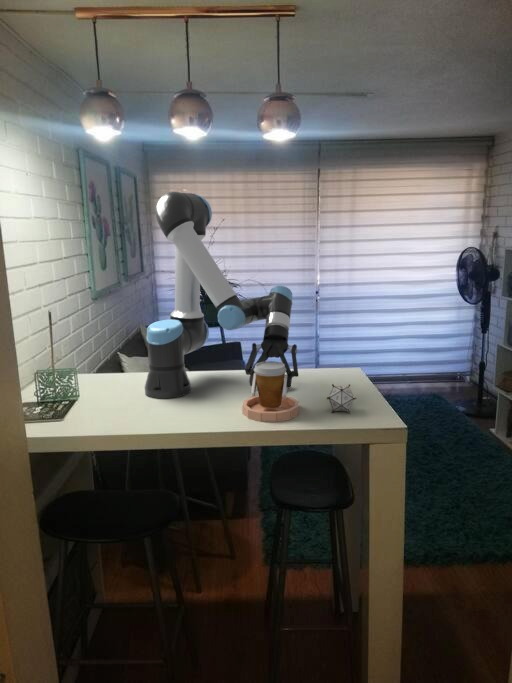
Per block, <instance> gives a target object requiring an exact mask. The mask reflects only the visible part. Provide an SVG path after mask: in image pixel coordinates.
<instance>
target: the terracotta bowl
mask: <svg viewBox="0 0 512 683" xmlns="http://www.w3.org/2000/svg"><path fill="white" fill-rule="evenodd" d="M299 403H300V402H299V401H298V400H297V399H295V398H293V397H291V396H289V395H286V399H283V394H282V401H281V405H280V406H278V407H274V408H266V407H262V406H261V405H260V402H259V395H255V397H252V396H250V397H249V398H246V399H244V400H243V402H242V404H241V408H242V409H241V411H242V414H243V416H245V417H246V418H247V419H249V420H254V421H258V422H265V423H267V422H272V423H273V422H275V423H277V422H283V421H288V420H292V419H294V418H295V417H297V416H299V409H300V404H299Z"/></svg>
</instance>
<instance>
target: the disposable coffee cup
mask: <svg viewBox="0 0 512 683" xmlns="http://www.w3.org/2000/svg"><path fill="white" fill-rule="evenodd" d="M255 364H256V363H255ZM255 364H254V365H255ZM254 372H255V374H256V381H257V386H256V389H257V388H258V391H257V392H258V393H257V394H258V395H257V396H259V402H260V405H261V406H262V407H266V408H274V407H278V406H280V405H281V401H282V395H283V384H284V376H285V374H286V368H285V364H283V363H282V361H281V362H280V361H275V360H274V361H272V360H271V361H269V360H268V361H267V360H266V361H265V362H260V363H257V364H256V365H255V368H254Z"/></svg>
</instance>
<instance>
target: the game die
mask: <svg viewBox="0 0 512 683" xmlns="http://www.w3.org/2000/svg"><path fill="white" fill-rule="evenodd" d="M331 386H332V389H331V391H330V393H329V396H326V398H325V399H326V400H328V402H329V403H330V405H331V409H332V411H331V413H334V412H335V411H343V412H348V413H349V414H351V411H350V409H351V407H352V404H353V402H354V401H355V400H357V398H356V397H354V395H353V393H352V391H351V384H348V385H346V386H344V385H343V386H341V385H339V386H338V385H334V383H331Z"/></svg>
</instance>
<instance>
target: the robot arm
mask: <svg viewBox="0 0 512 683" xmlns="http://www.w3.org/2000/svg"><path fill="white" fill-rule="evenodd" d="M212 215H213V213H212V208H211V205H210V203H209V202H208V201H207V199H206V198H205V197H203V196H201V195H199V194H196V193H192V192H190V193H188V192H179V191H169V192H167V193H164V194H163V195H162V196H161V197H160V198H159V199H158V201H157V203H156V206H155V218H156V221H157V224H158V226H159V227H160V229H161V231H162V233H163V235H164V236H165V238H166V239H167V241H170V242H172V243H173V244H174V245H175V246H174V247H175V248H174V249H175V252H174V254H175V255H174V258H175V260H174V263H175V264H174V267H175V268H174V273H175V275H174V310H173V311H172V312H171V313H169V314H170V319H163V320H158V321H155V322H153V323H151V324H149V325H148V326H147V329H146V343H147V345H146V346H147V356H148V357H147V358H148V359H147V360H148V372H147V377H146V381H145V384H144V393H145V395H146V396H147V397H150V398H156V399H172V398H177V397H178V398H179V397H182V396H185V395H187V394H189V393H190V392H191V388H192V387H191V381H190V379H189V376H188V374H187V371H186V369H185V355H187V354H189V353H192V352H195V351H197V350H199V349H201V348H202V347H204V345H205V344H206V343H207V341H208V340H209V336H210V330H209V326H208V323H206V321H205V314H204V313H203V312H202V310H200V308H201V305H200V304H201V303H200V301H201V300H200V299H201V287H202V289H203V290H204V292H205V293H206V294H207V296H208V297H209V299H210V301H211V303H213V305H214V307H215V308H216V310H217V321H218V324H219V326H220V327H222V329H224V330H227V331H233V330H237V329H238V330H239V329H241V328H242V327H244V326H246V325H249V324H251V323H254V322H258V321H263V320H265V326H264V332H263V339H262V341H261V343H258V344H256V343H255V342H253V343H252V344H251V352H250V353H249V354H250V355H249V357H248V360H247V363H246V365H245V367H244V372H245V374H246V375H247V376H249V379H248V380H249V382H248V383H249V386H251V391H250V393H251V397H255V396H256V393H257V381H256V374H255V372H254V368H255V365H256V364H257V363H260V362H266V361H267V360H268V359H269V358H276V359H278V358H279V359H280V361H281V363H283V364H285V368H286V372H285V376H284V386H283V393H282V395H283V399H286V396H288V395H287V393H288V392H287V391H288V390H287V387H288V388H291V387H292V379H293V378H294V377H295V378H296V377H299V368H298V362H297V361H298V360H297V352H298V346H297V344H293V345H291V344H289V331H290V323H291V313H292V306H293V291H291V289H289V287H287V286H284V285H276V286H273V287H272V288H271V289H270V291H269V294H268V295H264V296H260V297H253V298H247V299H240V298H239V297H238V295H237V294H236V292H235V291H234V289H233V288H232V286H231V284H230V283H229V281H228V280H227V278H226V277H225V275H224V274H223V272H222V270H221V269H220V267H219V265H218V264H217V262H216V261H215V259H214V258H213V256H212V255H211V254H210V252H209V250H208V249H207V247H206V246H205V244H204V243H203V241H202V240H203V239H204V238H205V237H206V233H207V232H206V228H207V227H208V226H209V225H210V223H211V221H212V217H213V216H212ZM261 349H262V352H261V355H260V356H259V358H258V359H257V361H255V360H256V358H257V356H258V353H259V352H260V350H261ZM288 350H289V353H290V354H291V360H292V370H291V368H290V366H289V363H288V360H287V359H286V356H285V353H286V352H287V351H288Z"/></svg>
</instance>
